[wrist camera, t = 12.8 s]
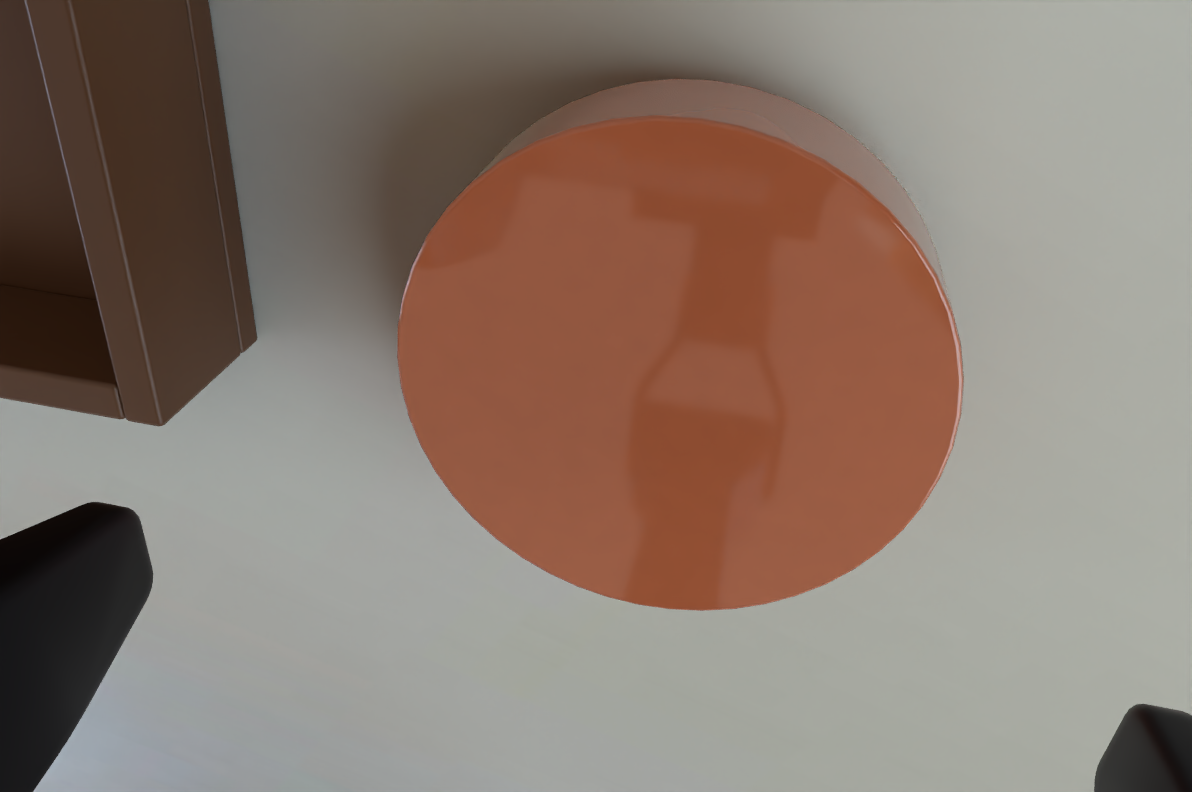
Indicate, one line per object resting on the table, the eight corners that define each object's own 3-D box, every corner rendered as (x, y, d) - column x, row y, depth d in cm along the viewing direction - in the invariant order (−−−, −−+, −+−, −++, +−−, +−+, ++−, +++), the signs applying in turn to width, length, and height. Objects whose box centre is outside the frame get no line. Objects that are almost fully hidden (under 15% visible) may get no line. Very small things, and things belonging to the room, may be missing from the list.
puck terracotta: (1008, 101, 11) (1049, 161, 9) (877, 543, 15) (886, 654, 13) (451, 37, 12) (379, 79, 10) (459, 468, 16) (407, 561, 14)
